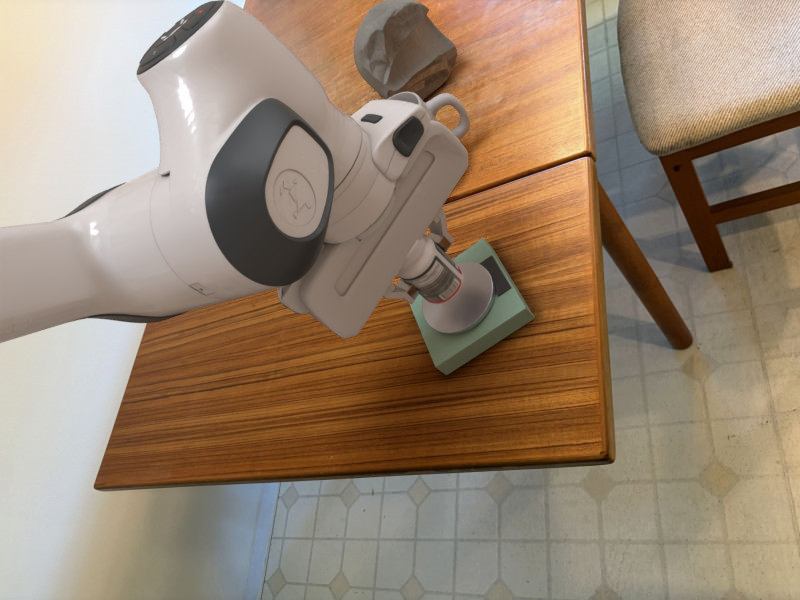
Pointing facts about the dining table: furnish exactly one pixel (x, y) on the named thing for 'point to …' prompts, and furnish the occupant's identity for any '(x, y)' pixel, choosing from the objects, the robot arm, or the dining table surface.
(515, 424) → the dining table surface
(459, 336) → the scale
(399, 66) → the decorative stone
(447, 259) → the pill bottle
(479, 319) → the scale pan
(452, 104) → the mug
